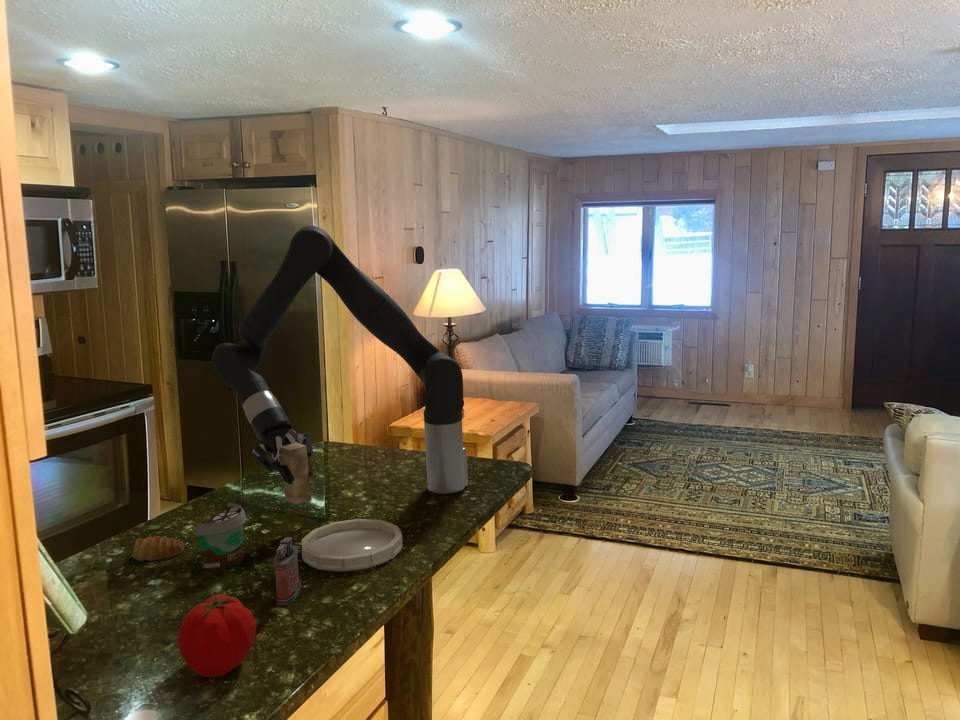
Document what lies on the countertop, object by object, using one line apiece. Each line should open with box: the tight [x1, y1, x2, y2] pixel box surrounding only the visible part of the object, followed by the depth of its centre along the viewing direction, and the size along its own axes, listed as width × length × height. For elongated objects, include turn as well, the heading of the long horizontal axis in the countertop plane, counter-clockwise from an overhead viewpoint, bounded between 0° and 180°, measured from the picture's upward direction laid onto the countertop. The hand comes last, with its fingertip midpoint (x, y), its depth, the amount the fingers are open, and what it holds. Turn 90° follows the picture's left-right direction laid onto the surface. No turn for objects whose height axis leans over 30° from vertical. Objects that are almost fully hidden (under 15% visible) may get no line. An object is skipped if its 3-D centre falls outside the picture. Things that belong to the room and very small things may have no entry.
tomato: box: [176, 593, 257, 678], centre depth 114 cm, size 11×13×10 cm
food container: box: [195, 502, 247, 572], centre depth 150 cm, size 12×6×10 cm, turn 168°
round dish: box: [301, 518, 404, 573], centre depth 154 cm, size 20×20×2 cm
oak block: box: [280, 442, 312, 505], centre depth 164 cm, size 4×4×12 cm
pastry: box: [132, 535, 185, 562], centre depth 156 cm, size 9×7×4 cm
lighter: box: [272, 536, 301, 606], centre depth 135 cm, size 8×3×10 cm, turn 178°
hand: (301, 478), depth 163 cm, fingers closed on oak block, 4 cm apart
